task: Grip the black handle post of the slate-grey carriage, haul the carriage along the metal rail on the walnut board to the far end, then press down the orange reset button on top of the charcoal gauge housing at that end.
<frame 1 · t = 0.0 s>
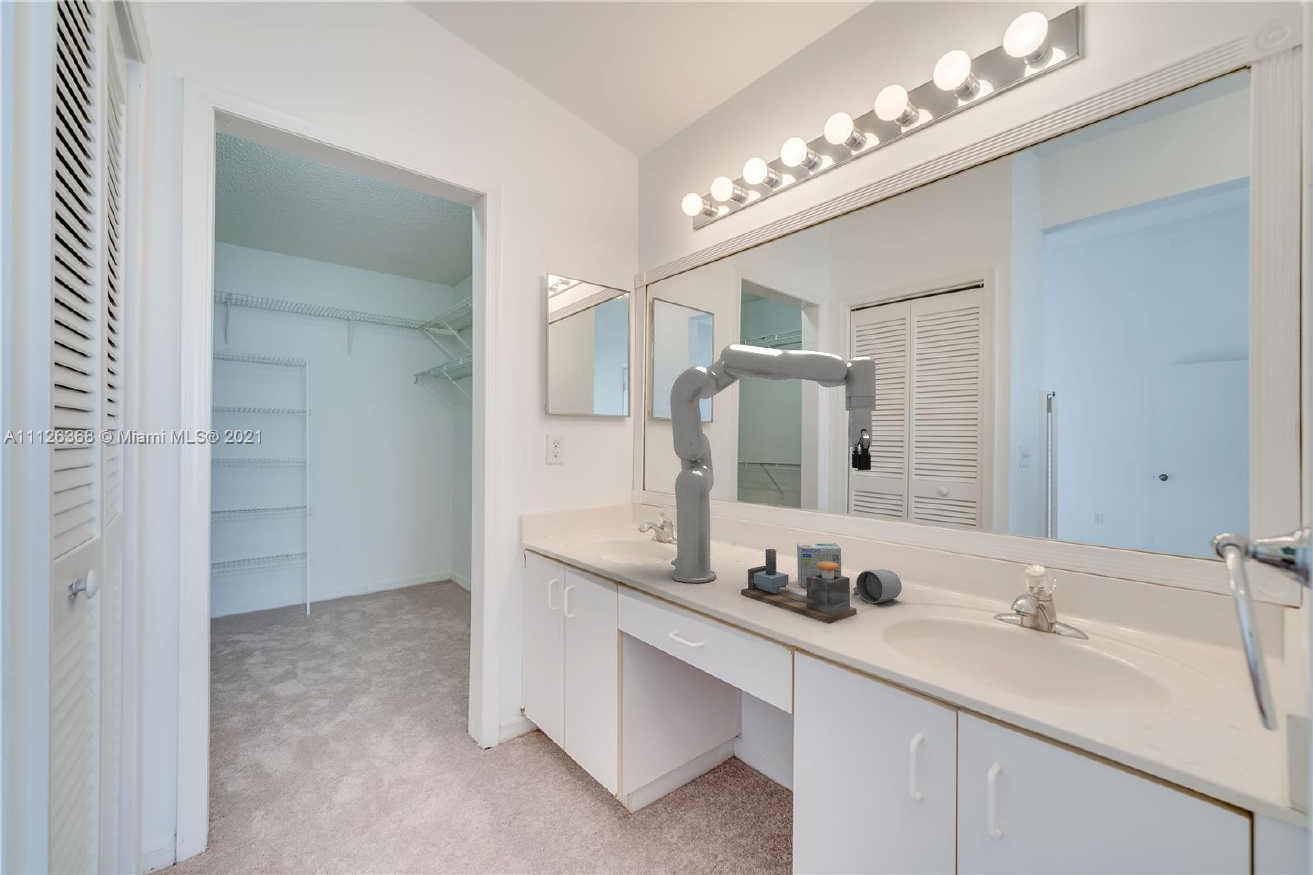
hand: (861, 469, 134), 31 cm above the countertop, tool pointing down, fingers open, 9 cm apart
reset button: (827, 574, 114), point 9 cm above the countertop, slide at 0.0 cm
carriage: (770, 569, 127), point 7 cm above the countertop, slide at 0.0 cm
ceramic mug: (874, 600, 124), on the countertop
rail board: (787, 601, 123), on the countertop
light bulb box: (818, 585, 137), on the countertop
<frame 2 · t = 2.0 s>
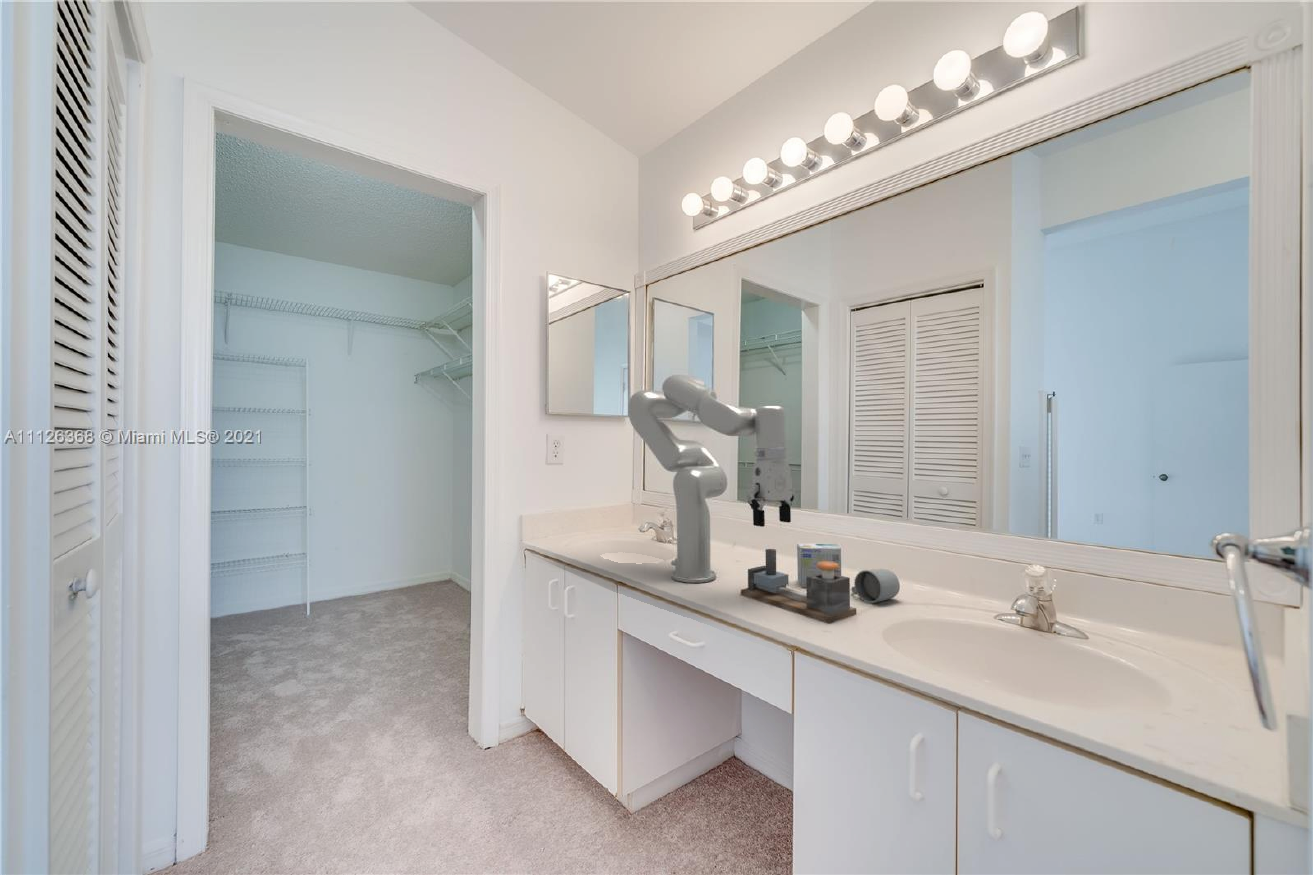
hand: (772, 523, 127), 18 cm above the countertop, tool pointing down, fingers open, 9 cm apart
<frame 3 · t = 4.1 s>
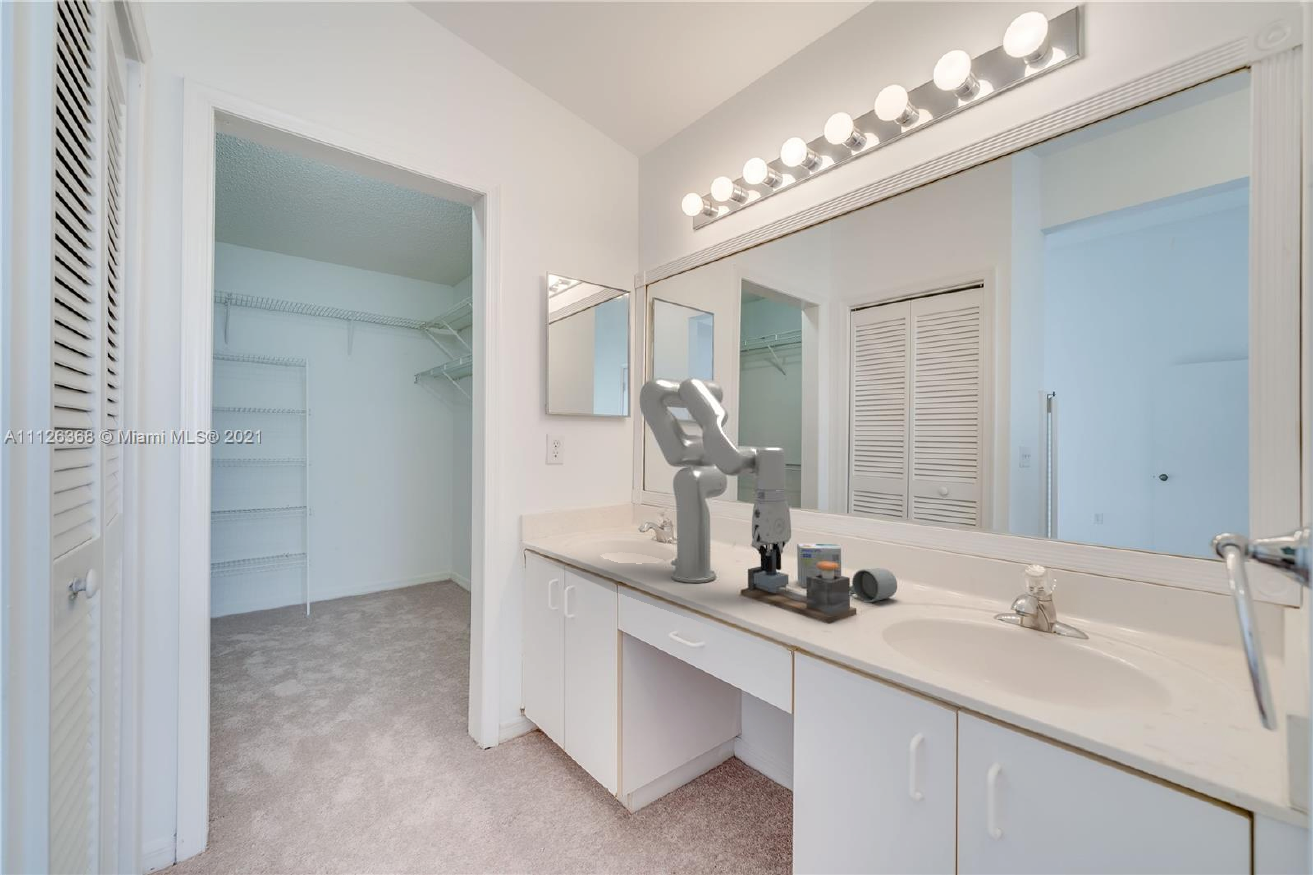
hand: (770, 569, 127), 7 cm above the countertop, tool pointing down, fingers closed on carriage, 2 cm apart
carriage: (770, 569, 127), point 7 cm above the countertop, slide at 0.0 cm, touching gripper
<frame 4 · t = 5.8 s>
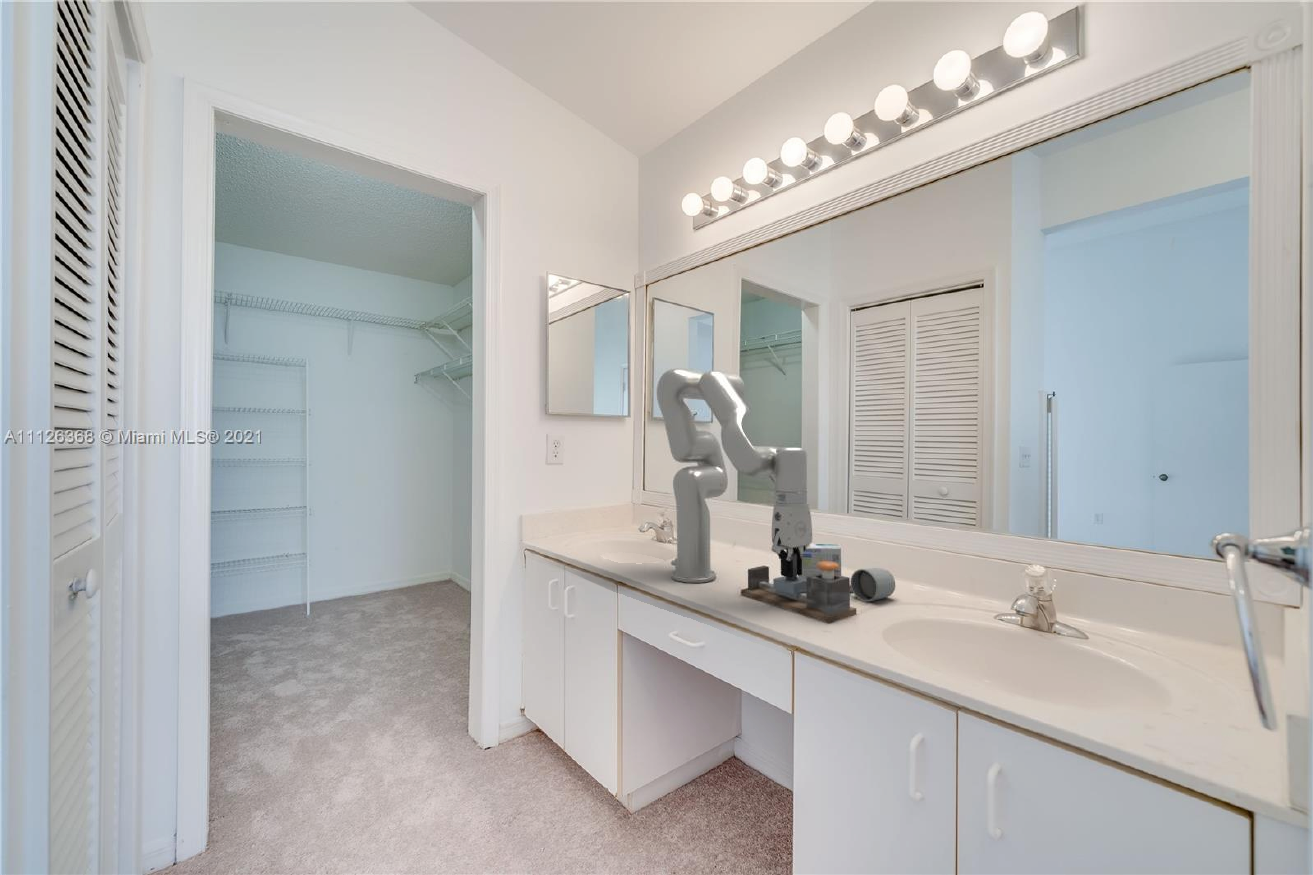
hand: (791, 574, 122), 7 cm above the countertop, tool pointing down, fingers closed on carriage, 2 cm apart
carriage: (791, 574, 122), point 7 cm above the countertop, slide at 6.4 cm, touching gripper
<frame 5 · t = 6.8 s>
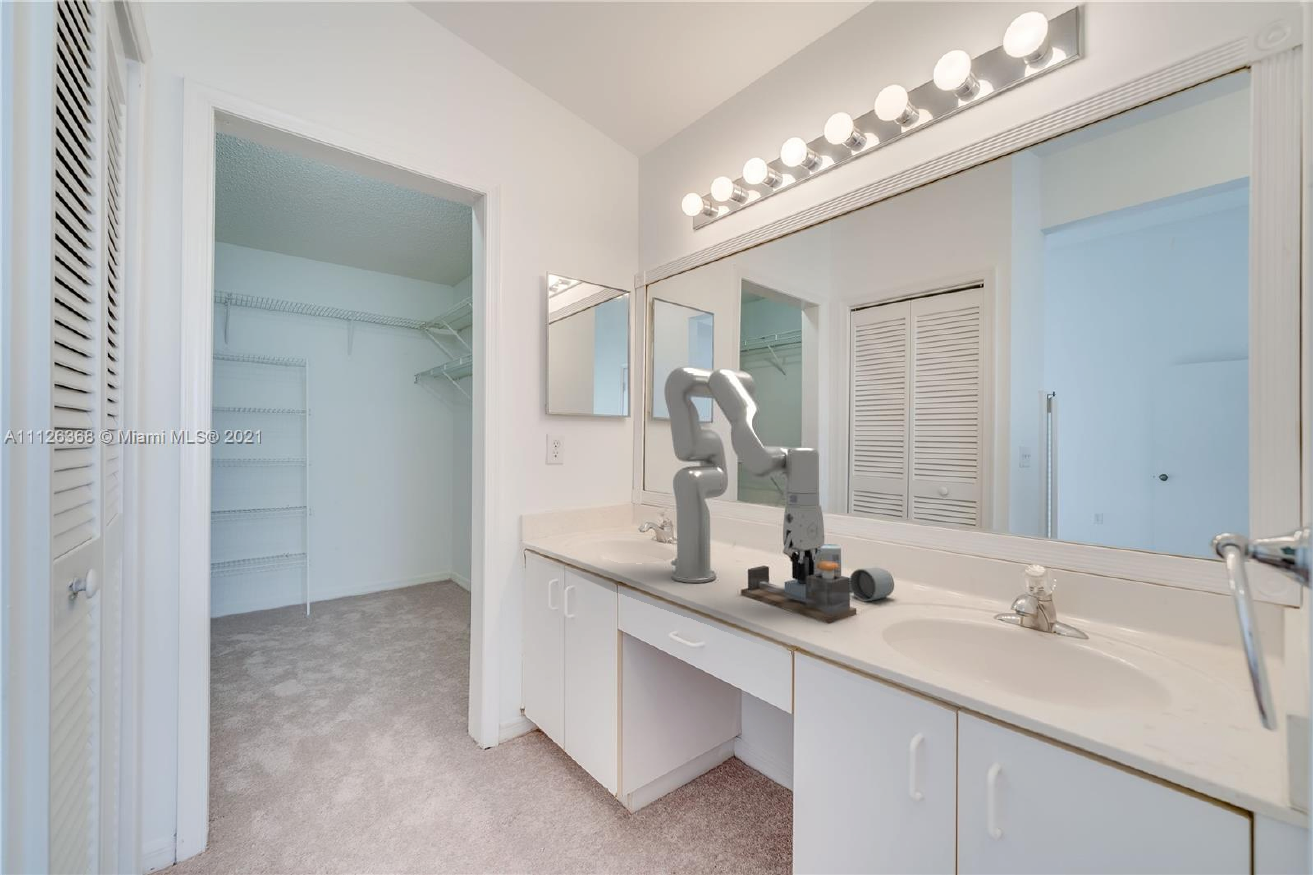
hand: (803, 577, 119), 7 cm above the countertop, tool pointing down, fingers closed on carriage, 2 cm apart
carriage: (803, 577, 119), point 7 cm above the countertop, slide at 9.8 cm, touching gripper
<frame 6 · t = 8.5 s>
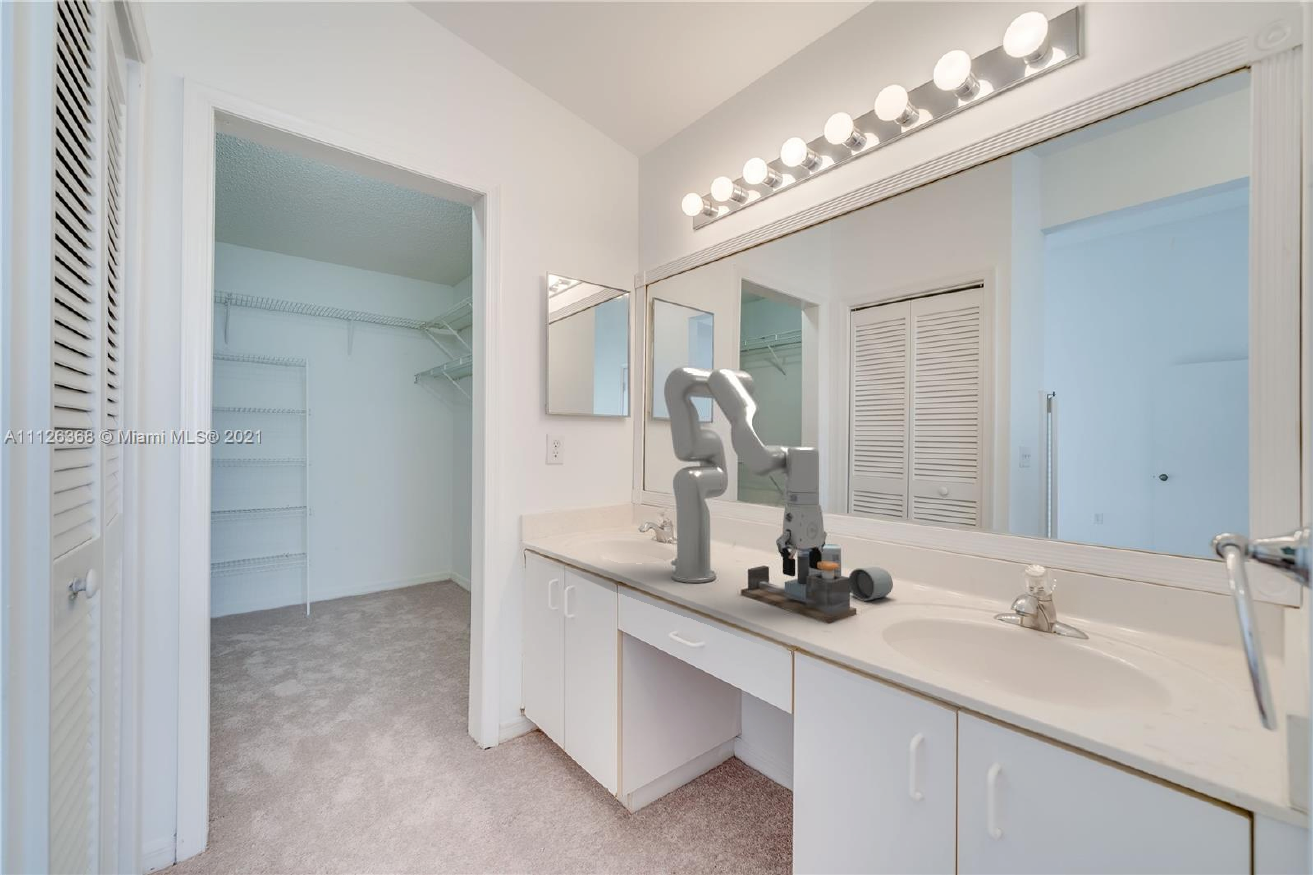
hand: (802, 571, 119), 8 cm above the countertop, tool pointing down, fingers open, 9 cm apart
carriage: (803, 577, 119), point 7 cm above the countertop, slide at 9.8 cm
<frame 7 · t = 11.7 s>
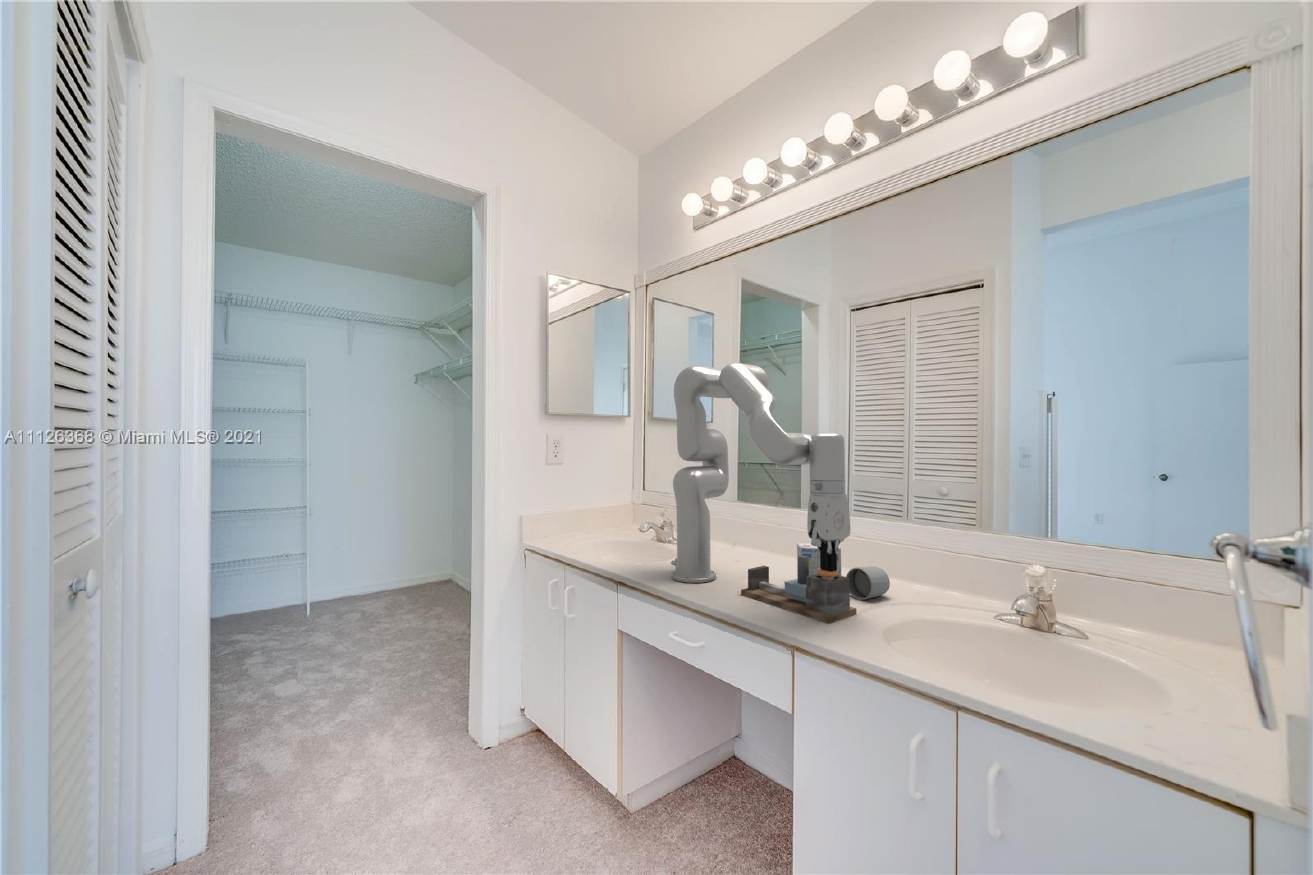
hand: (828, 570, 114), 10 cm above the countertop, tool pointing down, fingers closed
reset button: (827, 581, 114), point 7 cm above the countertop, slide at 1.4 cm, touching gripper
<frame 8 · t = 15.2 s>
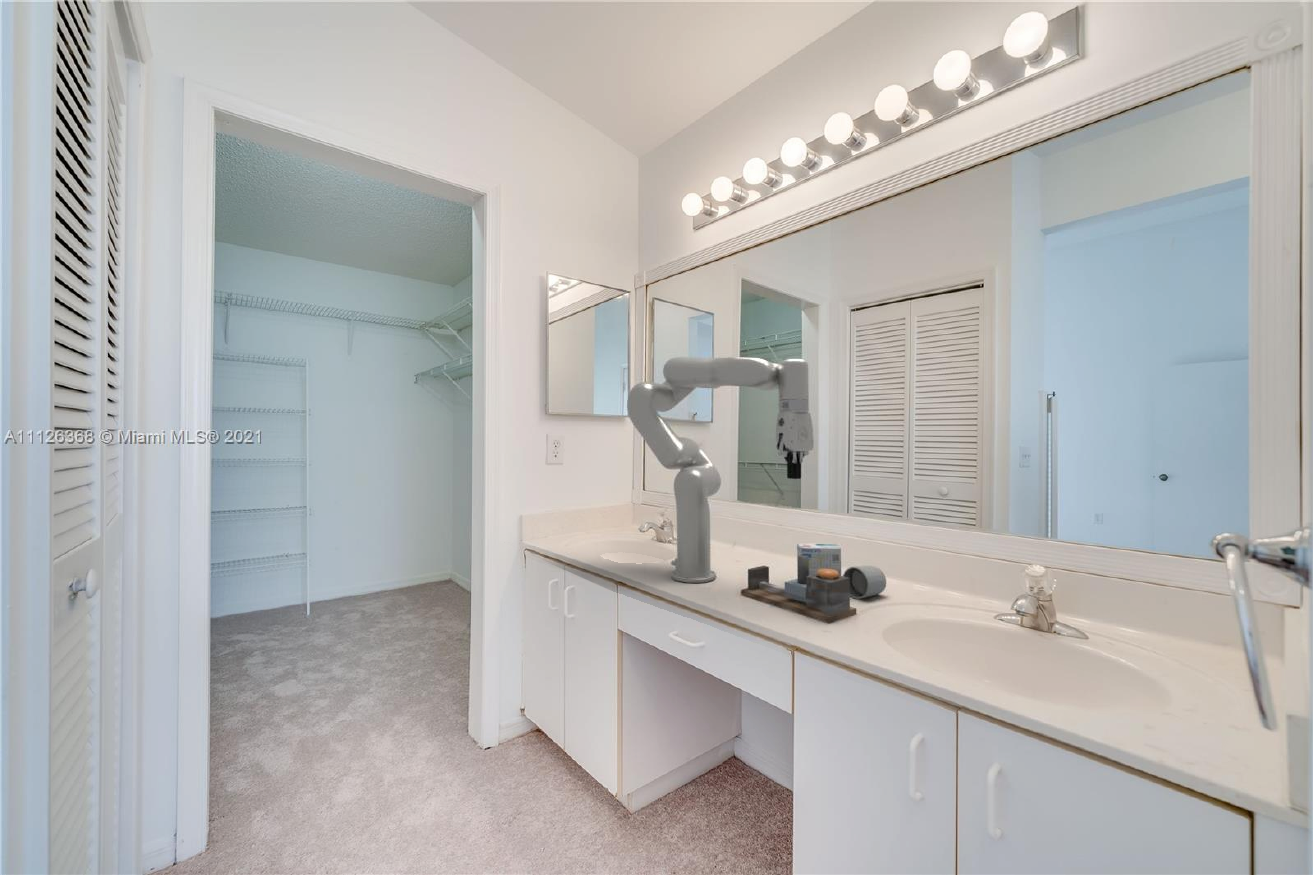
hand: (794, 478, 131), 29 cm above the countertop, tool pointing down, fingers closed
reset button: (827, 582, 114), point 7 cm above the countertop, slide at 1.7 cm
at the end: carriage slide at 9.8 cm; reset button slide at 1.7 cm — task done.
